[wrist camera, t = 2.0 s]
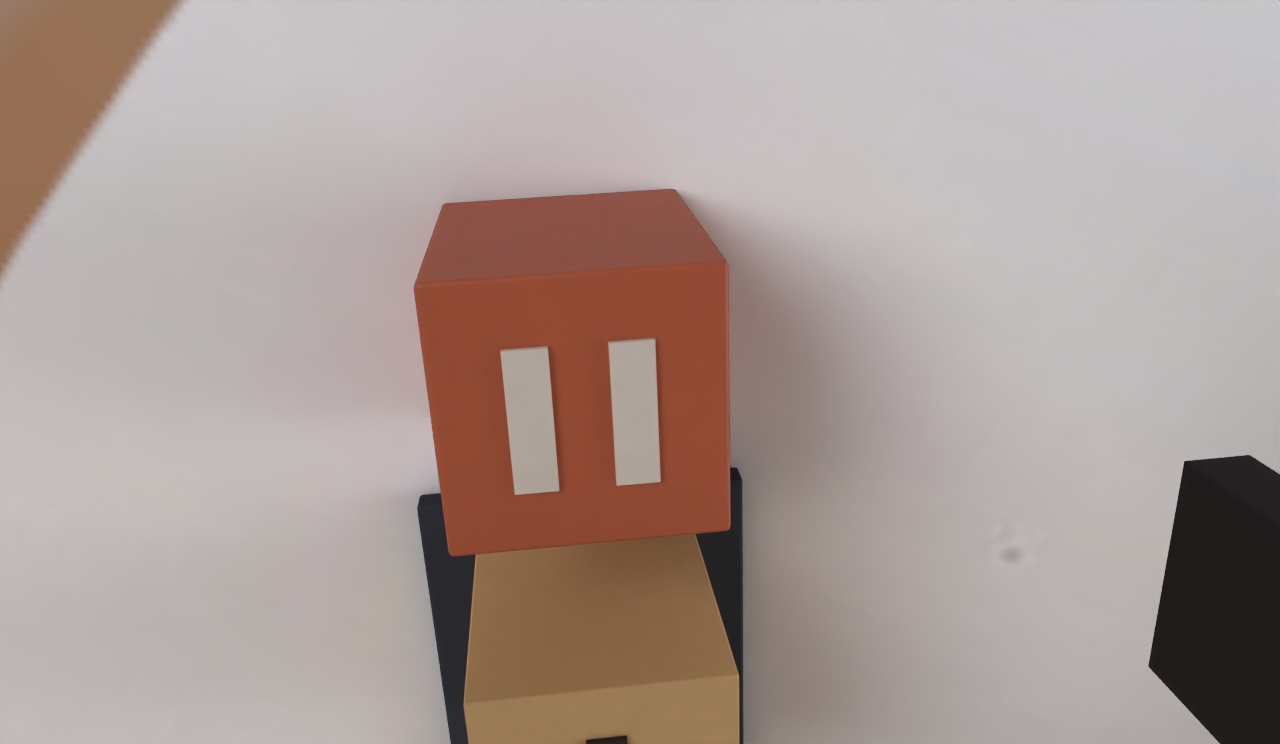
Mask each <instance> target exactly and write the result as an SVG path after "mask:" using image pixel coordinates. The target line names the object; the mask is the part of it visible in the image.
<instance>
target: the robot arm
mask: <svg viewBox="0 0 1280 744" xmlns="http://www.w3.org/2000/svg"><path fill="white" fill-rule="evenodd" d="M1149 668H1150V669H1151V670H1152V671H1153V672H1154V673H1155V674H1156V675H1157V676H1158V677H1159V678H1160V679H1161V680H1162V682H1163V683H1164V684H1165V685H1166V686H1167V687H1168V688H1169V689H1170V690H1171V691H1172V692H1173V693H1174V694H1175V696H1176V697H1177V698H1178V699H1179V700H1180V701H1181V702H1182V703H1183V704H1184V705H1185V706H1186V707H1187V708H1188V710H1189V711H1190V712H1191V713H1192V714H1193V715H1194V716H1195V717H1196V718H1197V719H1198V720H1199V721H1200V722H1201V724H1202V725H1203V726H1204V727H1205V728H1206V729H1207V730H1208V731H1209V732H1210V733H1211V734H1212V735H1213V736H1214V738H1215V739H1216V740H1217V741H1218V742H1219V743H1220V744H1280V474H1278V473H1277V472H1275V471H1274V470H1272V469H1270V468H1269V467H1267V466H1266V465H1264V464H1263V463H1261V462H1259V461H1258V460H1256V459H1255V458H1253V457H1252V456H1250V455H1246V456H1235V457H1224V458H1214V459H1203V460H1193V461H1184V467H1183V473H1182V478H1181V484H1180V490H1179V495H1178V501H1177V507H1176V513H1175V518H1174V524H1173V530H1172V535H1171V541H1170V547H1169V552H1168V558H1167V564H1166V569H1165V575H1164V581H1163V586H1162V592H1161V598H1160V604H1159V609H1158V615H1157V621H1156V626H1155V632H1154V638H1153V643H1152V649H1151V655H1150V660H1149Z"/></svg>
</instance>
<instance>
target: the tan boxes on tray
mask: <svg viewBox="0 0 1280 744" xmlns="http://www.w3.org/2000/svg"><path fill="white" fill-rule="evenodd" d="M417 510H418V517H419V524H420V531H421V538H422V545H423V552H424V559H425V566H426V573H427V580H428V587H429V594H430V601H431V608H432V615H433V622H434V629H435V636H436V643H437V650H438V657H439V664H440V671H441V678H442V685H443V692H444V698H445V705H446V712H447V719H448V726H449V733H450V740H451V744H743V543H742V478H741V476H740V474H739V471H738V469H737V468H730V514H731V526H730V528H729V530H727V531H720V532H710V533H699V534H688V535H678V536H667V537H656V538H646V539H635V540H624V541H614V542H603V543H593V544H582V545H571V546H561V547H550V548H539V549H529V550H518V551H508V552H497V553H486V554H476V555H465V556H451V555H450V553H449V551H448V544H447V536H446V528H445V521H444V513H443V506H442V498H441V494H430V495H422V496H420V498H419V503H418V508H417Z"/></svg>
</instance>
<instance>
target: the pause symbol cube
mask: <svg viewBox="0 0 1280 744" xmlns="http://www.w3.org/2000/svg"><path fill="white" fill-rule="evenodd" d="M414 294H415V302H416V309H417V317H418V325H419V332H420V340H421V347H422V355H423V362H424V370H425V377H426V385H427V393H428V400H429V408H430V415H431V423H432V430H433V438H434V445H435V453H436V461H437V468H438V476H439V483H440V491H441V498H442V506H443V513H444V521H445V528H446V536H447V544H448V551H449V553H450V555H451V556H465V555H476V554H486V553H497V552H508V551H518V550H529V549H539V548H550V547H561V546H571V545H582V544H593V543H603V542H614V541H624V540H635V539H646V538H656V537H667V536H678V535H688V534H699V533H710V532H720V531H727V530H729V528H730V526H731V514H730V398H729V282H728V263H727V261H726V260H725V259H724V257H723V256H722V254H721V253H720V252H719V250H718V249H717V247H716V246H715V245H714V243H713V242H712V240H711V239H710V238H709V236H708V235H707V233H706V232H705V231H704V229H703V228H702V226H701V225H700V224H699V222H698V221H697V219H696V218H695V217H694V215H693V214H692V212H691V211H690V210H689V208H688V207H687V205H686V204H685V203H684V201H683V200H682V198H681V197H680V196H679V194H678V193H677V191H676V190H674V189H664V190H648V191H633V192H617V193H601V194H586V195H570V196H554V197H539V198H523V199H508V200H492V201H476V202H461V203H446V204H444V205H442V208H441V211H440V214H439V217H438V219H437V222H436V225H435V228H434V231H433V234H432V236H431V239H430V242H429V245H428V248H427V251H426V253H425V256H424V259H423V262H422V265H421V268H420V270H419V273H418V276H417V279H416V282H415V285H414Z"/></svg>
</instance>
